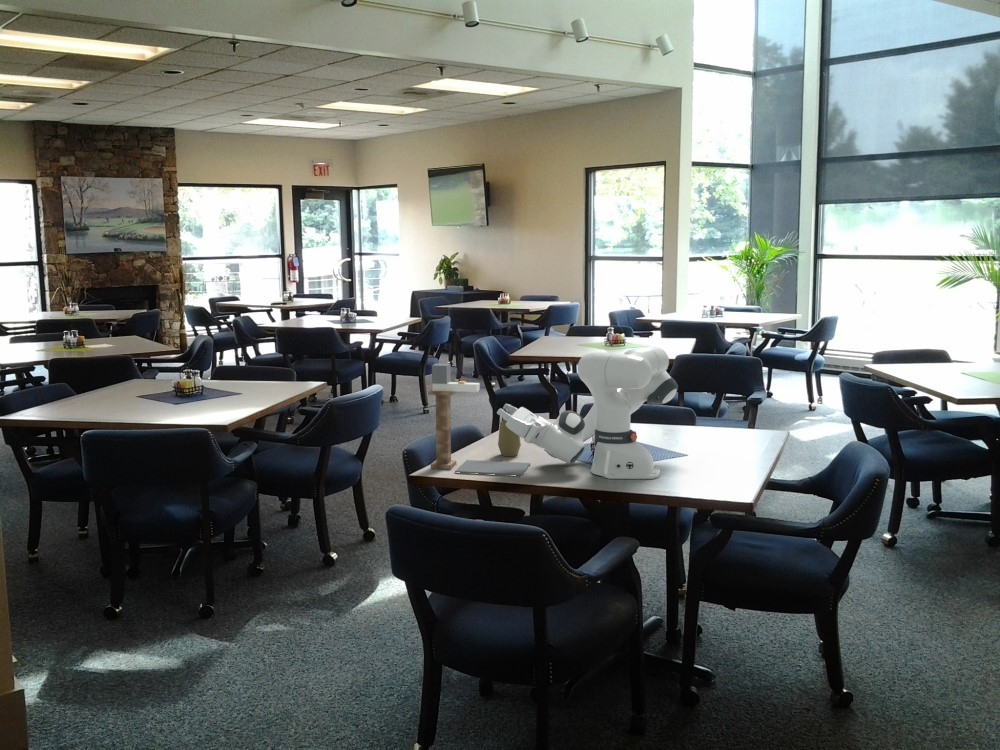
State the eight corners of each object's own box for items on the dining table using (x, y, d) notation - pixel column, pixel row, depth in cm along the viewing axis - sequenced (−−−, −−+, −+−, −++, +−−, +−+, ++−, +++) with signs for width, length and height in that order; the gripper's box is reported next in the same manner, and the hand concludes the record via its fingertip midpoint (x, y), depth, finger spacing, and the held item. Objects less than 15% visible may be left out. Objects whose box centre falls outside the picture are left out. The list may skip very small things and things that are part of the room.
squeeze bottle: (501, 458, 325) (501, 407, 322) (495, 453, 333) (495, 403, 330) (523, 456, 327) (523, 406, 325) (517, 451, 335) (517, 402, 332)
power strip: (479, 390, 309) (479, 364, 307) (476, 392, 304) (476, 366, 303) (436, 388, 312) (436, 363, 311) (432, 391, 307) (431, 365, 306)
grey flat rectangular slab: (530, 465, 314) (530, 462, 314) (521, 476, 299) (521, 474, 299) (466, 462, 319) (466, 459, 319) (454, 473, 303) (454, 470, 303)
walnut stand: (458, 464, 315) (457, 388, 312) (452, 470, 308) (451, 392, 304) (435, 463, 317) (434, 387, 313) (428, 468, 309) (427, 391, 306)
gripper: (547, 416, 313) (512, 394, 315) (536, 428, 293) (499, 405, 295) (537, 431, 315) (503, 410, 316) (526, 444, 295) (489, 421, 296)
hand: (501, 408), depth 305 cm, fingers open, 8 cm apart
